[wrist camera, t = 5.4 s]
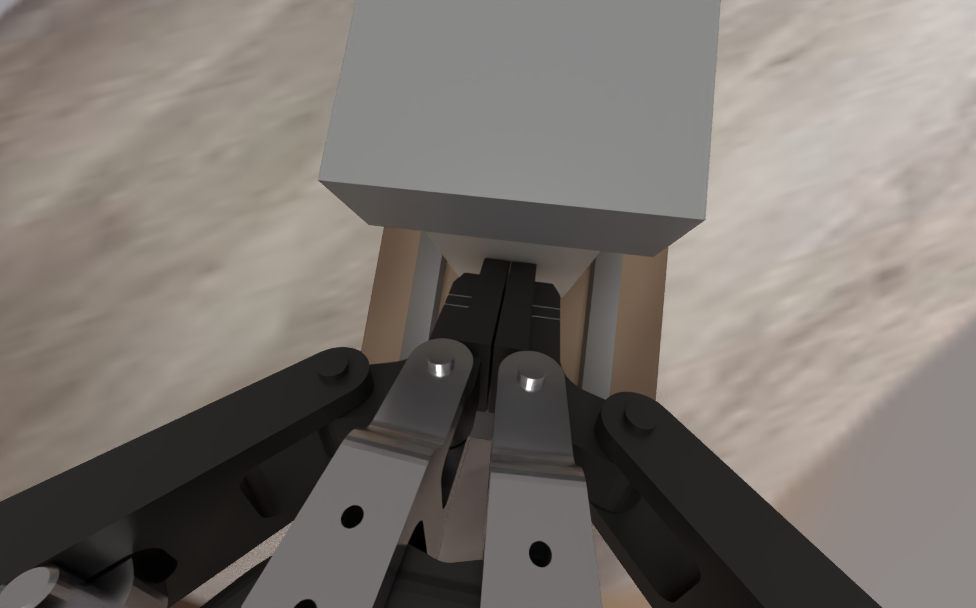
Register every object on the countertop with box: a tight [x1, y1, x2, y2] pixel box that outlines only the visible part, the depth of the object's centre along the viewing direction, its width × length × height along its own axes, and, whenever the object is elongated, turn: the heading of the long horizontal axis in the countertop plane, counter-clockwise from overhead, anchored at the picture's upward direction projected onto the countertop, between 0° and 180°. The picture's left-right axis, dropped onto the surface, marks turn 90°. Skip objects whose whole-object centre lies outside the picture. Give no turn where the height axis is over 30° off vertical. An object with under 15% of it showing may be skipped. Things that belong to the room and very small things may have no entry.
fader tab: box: [318, 0, 721, 298], centre depth 10 cm, size 5×4×10 cm
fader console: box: [361, 227, 668, 440], centre depth 17 cm, size 12×24×4 cm, turn 172°
